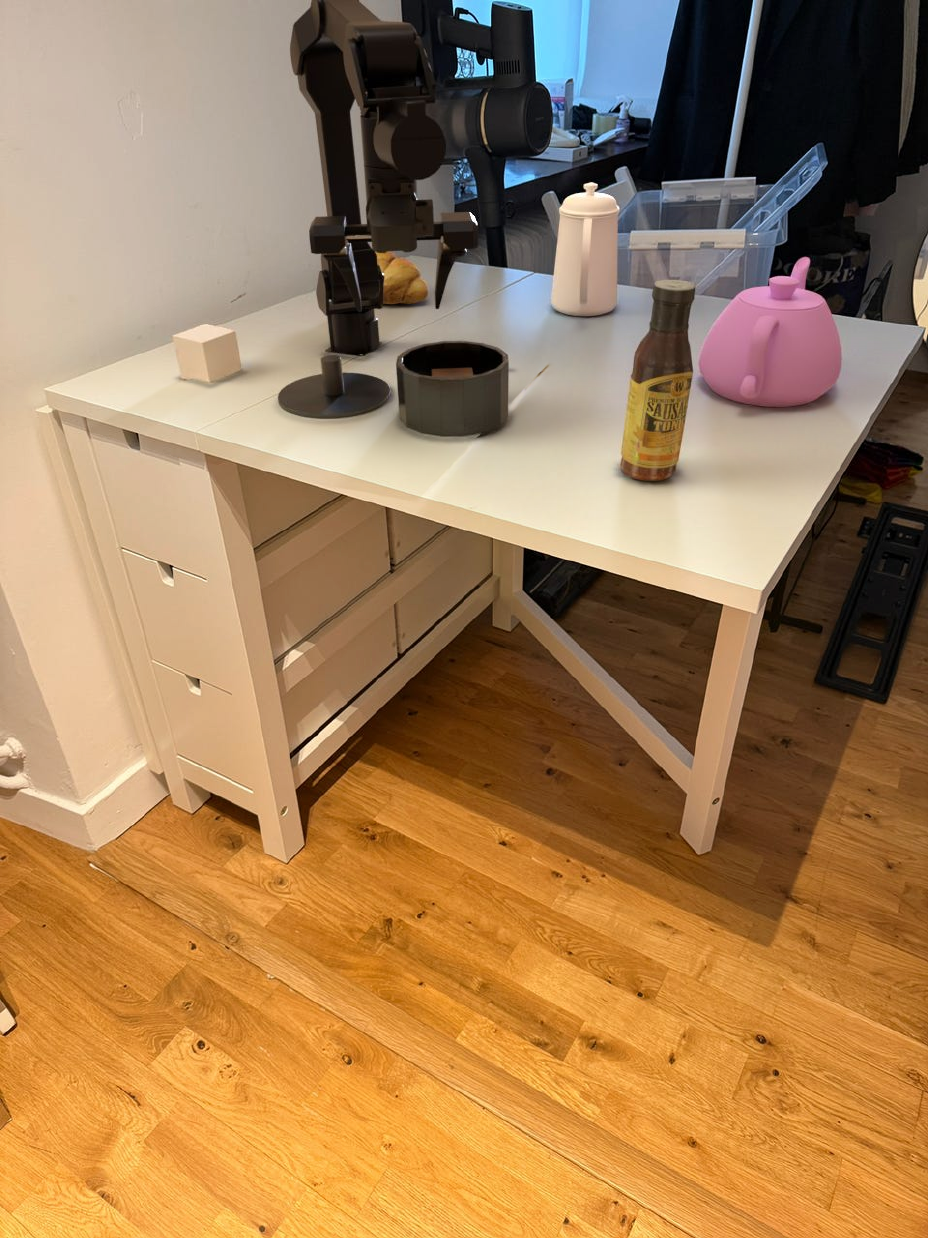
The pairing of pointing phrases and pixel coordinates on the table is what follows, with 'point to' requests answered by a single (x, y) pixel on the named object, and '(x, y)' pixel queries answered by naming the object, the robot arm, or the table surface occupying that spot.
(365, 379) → the lid
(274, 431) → the table surface
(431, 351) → the pot
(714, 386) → the teapot
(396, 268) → the bread roll
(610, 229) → the coffeepot
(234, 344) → the beige cube
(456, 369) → the block
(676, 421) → the sauce bottle
